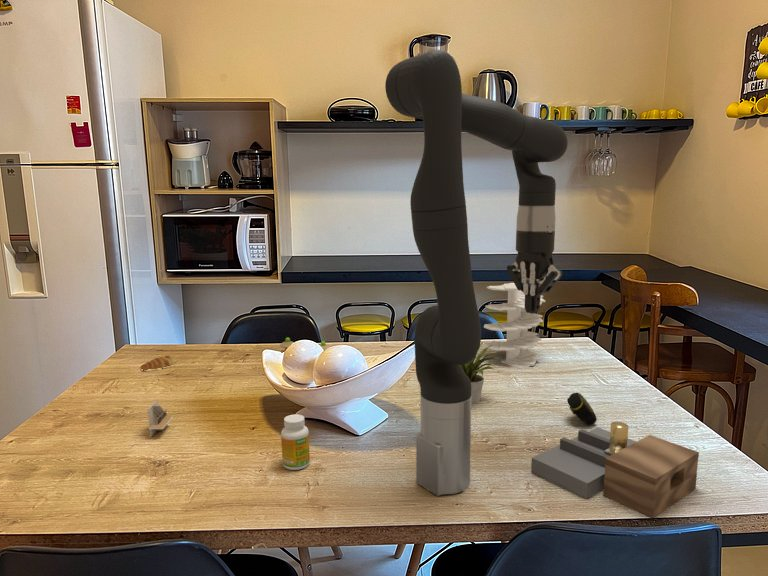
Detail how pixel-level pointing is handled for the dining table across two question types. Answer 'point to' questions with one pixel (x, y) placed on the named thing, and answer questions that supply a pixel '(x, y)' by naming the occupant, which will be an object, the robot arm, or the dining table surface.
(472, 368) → the house plant
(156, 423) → the architectural model
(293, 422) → the supplement bottle
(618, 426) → the bolt
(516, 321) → the spiral staircase
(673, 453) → the block
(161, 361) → the pastry
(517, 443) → the dining table surface
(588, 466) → the grey grooved block
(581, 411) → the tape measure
